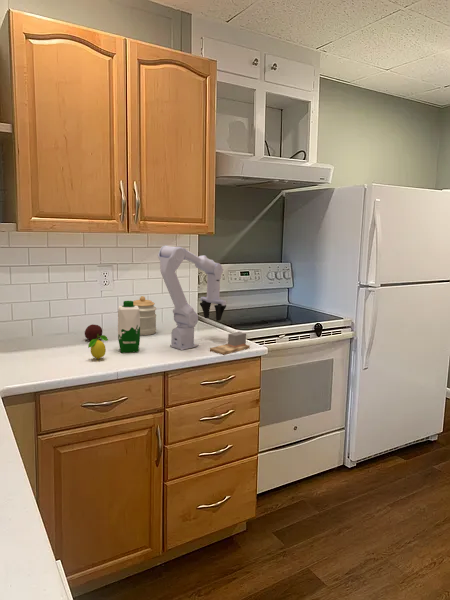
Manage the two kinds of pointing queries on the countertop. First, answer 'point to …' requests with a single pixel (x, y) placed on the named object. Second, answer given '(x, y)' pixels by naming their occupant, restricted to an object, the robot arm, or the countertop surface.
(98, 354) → the lemon
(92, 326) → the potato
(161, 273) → the robot arm
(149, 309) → the jar
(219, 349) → the board
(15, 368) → the countertop surface
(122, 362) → the countertop surface
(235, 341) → the sanding block
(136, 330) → the milk carton
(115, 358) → the countertop surface
